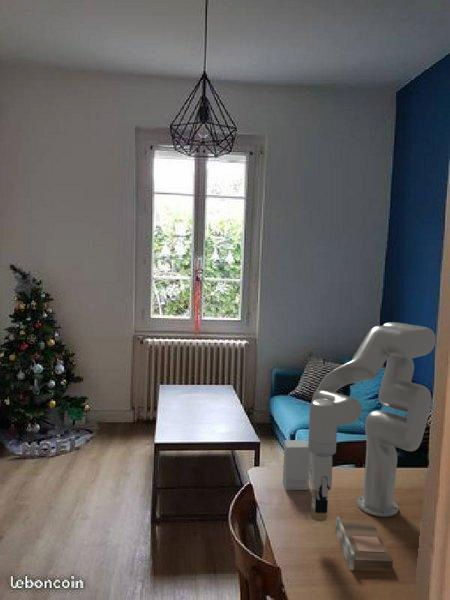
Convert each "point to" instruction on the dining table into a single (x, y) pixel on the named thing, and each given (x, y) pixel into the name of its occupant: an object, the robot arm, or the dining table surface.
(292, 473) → the skincare box
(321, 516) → the sprinkles bottle
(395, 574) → the dining table surface
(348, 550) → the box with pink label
